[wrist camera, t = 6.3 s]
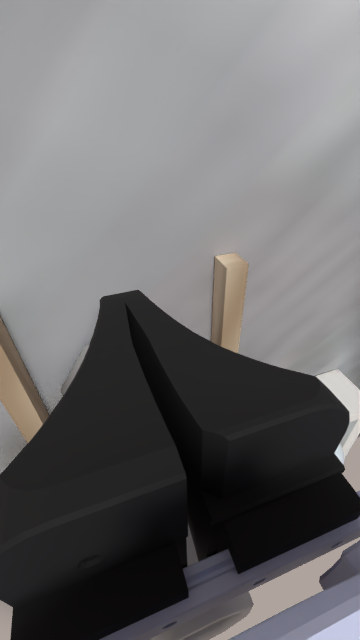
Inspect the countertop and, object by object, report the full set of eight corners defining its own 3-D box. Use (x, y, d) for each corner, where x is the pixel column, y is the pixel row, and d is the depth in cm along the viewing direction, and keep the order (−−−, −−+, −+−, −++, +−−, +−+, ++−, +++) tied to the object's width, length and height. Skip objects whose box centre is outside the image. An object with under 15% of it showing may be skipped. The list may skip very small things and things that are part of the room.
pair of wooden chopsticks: (235, 252, 13) (248, 264, 12) (214, 486, 27) (220, 499, 26) (-41, 302, 11) (-49, 321, 10) (92, 532, 25) (94, 549, 24)
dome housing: (337, 368, 22) (375, 405, 20) (312, 429, 27) (340, 465, 24) (241, 398, 20) (270, 443, 18) (232, 458, 25) (253, 501, 23)
